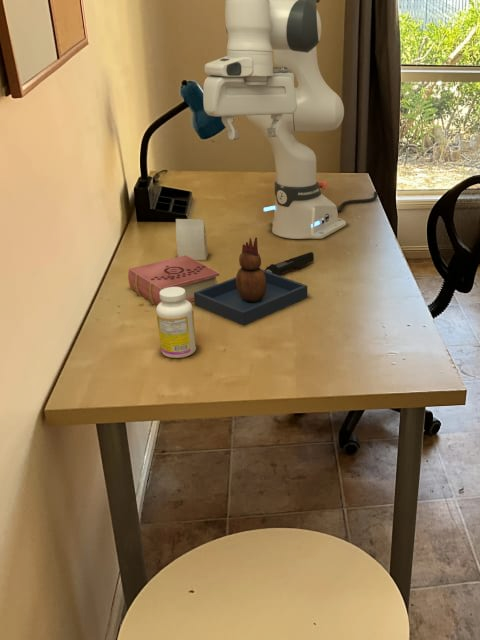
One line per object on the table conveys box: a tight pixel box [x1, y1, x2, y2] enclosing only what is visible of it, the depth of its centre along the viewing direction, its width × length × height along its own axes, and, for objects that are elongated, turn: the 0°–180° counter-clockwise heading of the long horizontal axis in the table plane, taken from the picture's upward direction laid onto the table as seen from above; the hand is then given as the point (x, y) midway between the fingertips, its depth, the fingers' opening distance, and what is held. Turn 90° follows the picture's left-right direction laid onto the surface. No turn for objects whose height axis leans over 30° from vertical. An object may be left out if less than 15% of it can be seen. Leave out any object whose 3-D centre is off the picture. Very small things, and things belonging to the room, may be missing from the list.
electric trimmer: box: [264, 251, 315, 276], centre depth 186 cm, size 4×16×3 cm, turn 142°
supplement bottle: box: [155, 287, 197, 359], centre depth 144 cm, size 7×7×13 cm
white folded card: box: [175, 218, 209, 261], centre depth 189 cm, size 4×7×10 cm, turn 95°
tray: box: [194, 268, 309, 326], centre depth 168 cm, size 20×16×3 cm
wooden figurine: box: [235, 237, 266, 302], centre depth 165 cm, size 7×6×15 cm
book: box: [127, 255, 220, 307], centre depth 171 cm, size 14×15×5 cm
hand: (253, 138), depth 154 cm, fingers open, 8 cm apart
